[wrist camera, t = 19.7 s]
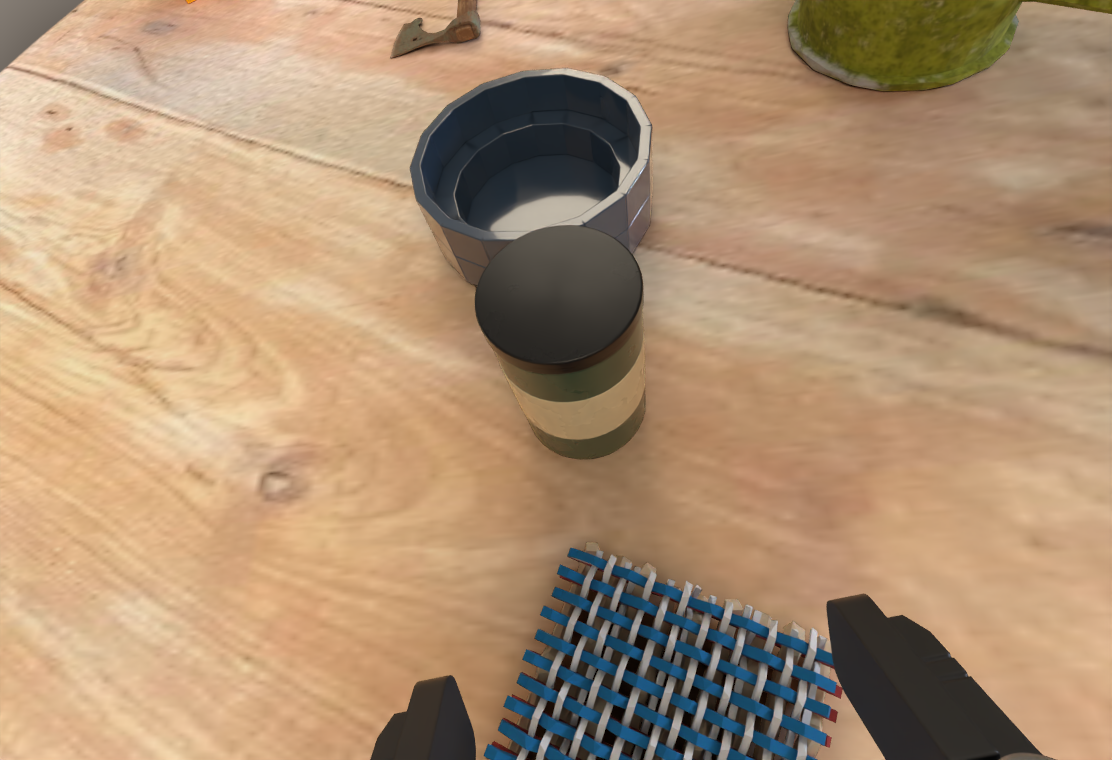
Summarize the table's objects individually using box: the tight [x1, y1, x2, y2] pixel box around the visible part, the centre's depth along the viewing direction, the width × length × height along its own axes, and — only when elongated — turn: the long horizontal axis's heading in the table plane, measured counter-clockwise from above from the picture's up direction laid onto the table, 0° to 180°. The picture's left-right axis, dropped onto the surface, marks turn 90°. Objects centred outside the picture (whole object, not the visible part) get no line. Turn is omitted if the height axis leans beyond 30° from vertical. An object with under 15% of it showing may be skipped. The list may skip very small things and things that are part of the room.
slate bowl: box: [410, 68, 653, 285], centre depth 30 cm, size 12×12×5 cm
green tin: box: [475, 225, 645, 459], centre depth 23 cm, size 6×6×9 cm
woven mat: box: [484, 542, 843, 760], centre depth 19 cm, size 10×11×2 cm
